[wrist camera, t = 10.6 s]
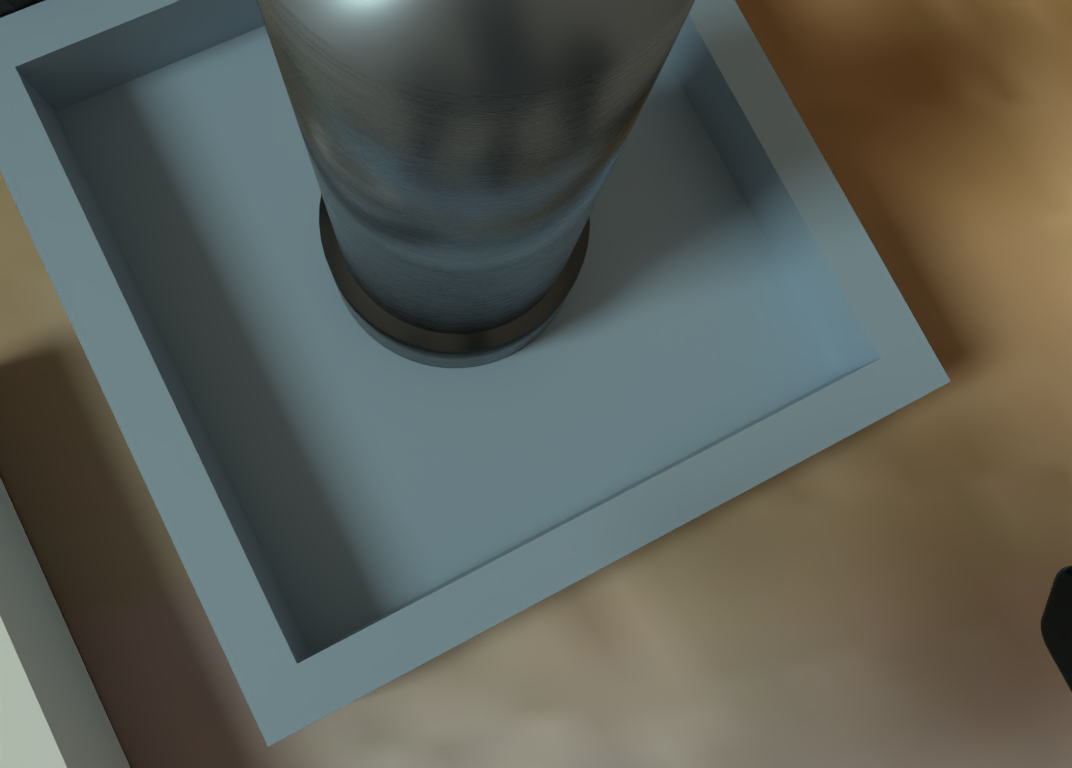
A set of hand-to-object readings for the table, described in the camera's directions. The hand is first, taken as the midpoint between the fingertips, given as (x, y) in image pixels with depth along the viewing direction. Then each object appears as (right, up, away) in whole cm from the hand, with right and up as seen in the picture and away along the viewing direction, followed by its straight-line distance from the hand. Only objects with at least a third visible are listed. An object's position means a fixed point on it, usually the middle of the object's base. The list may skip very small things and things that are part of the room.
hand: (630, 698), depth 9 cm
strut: (-3, +6, +11) cm, 12 cm away
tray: (-3, +6, +11) cm, 13 cm away
